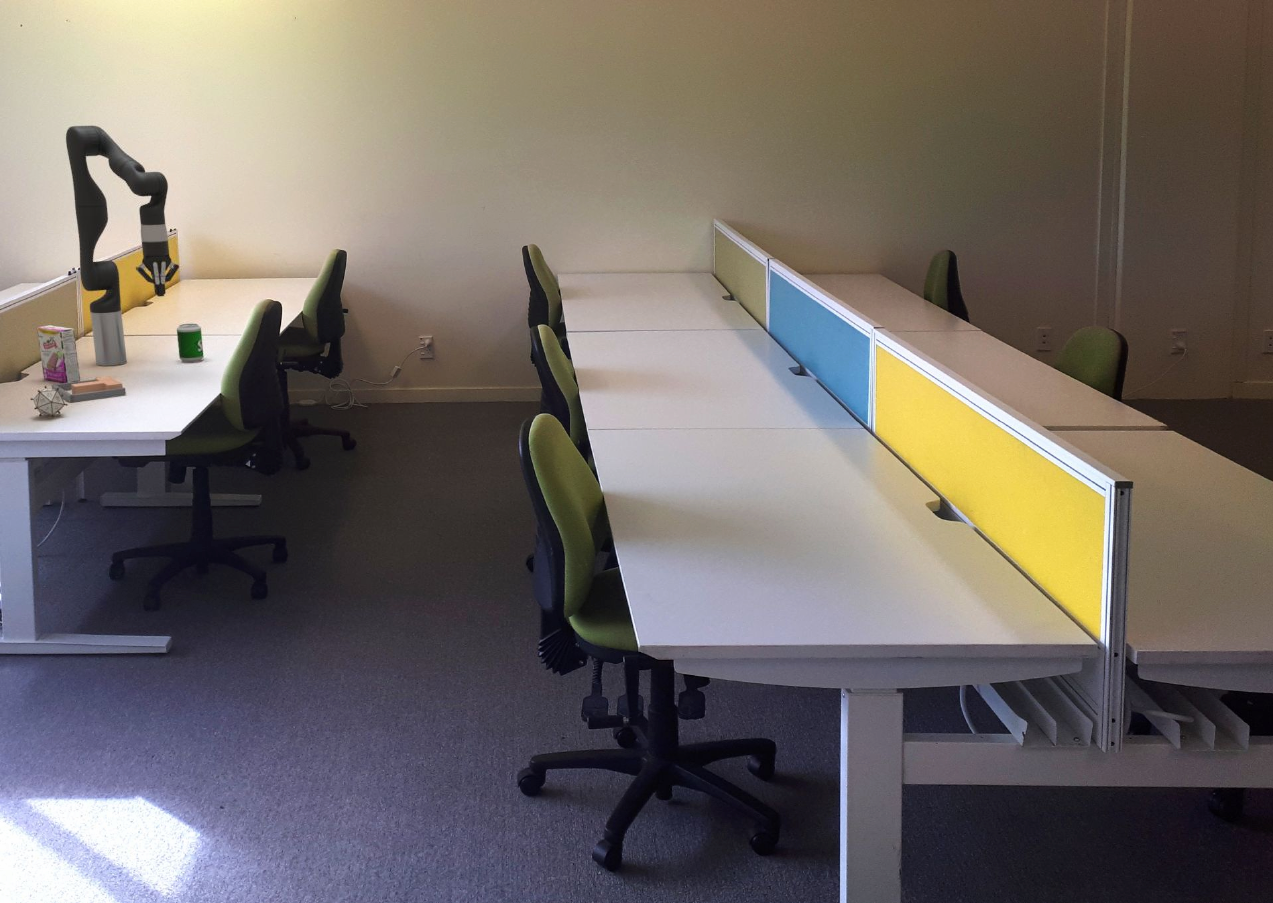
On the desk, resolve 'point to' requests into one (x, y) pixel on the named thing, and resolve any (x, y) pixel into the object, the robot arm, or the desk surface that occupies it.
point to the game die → (49, 401)
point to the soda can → (190, 343)
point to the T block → (96, 385)
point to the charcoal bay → (88, 395)
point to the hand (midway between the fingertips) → (160, 296)
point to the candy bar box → (58, 354)
